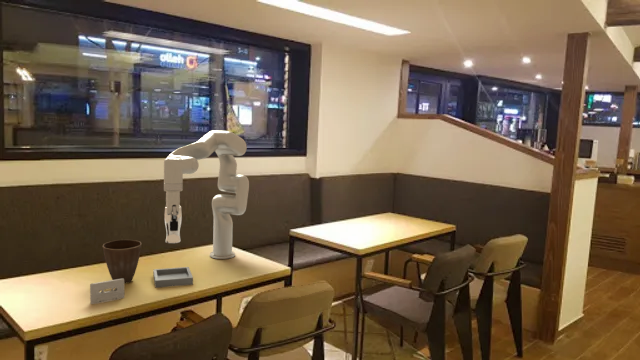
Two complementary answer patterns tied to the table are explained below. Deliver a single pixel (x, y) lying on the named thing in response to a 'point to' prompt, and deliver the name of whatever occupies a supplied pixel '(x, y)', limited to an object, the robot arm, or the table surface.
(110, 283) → the cassette
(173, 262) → the table surface
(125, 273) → the plant pot
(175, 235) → the beer glass
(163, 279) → the serving tray
